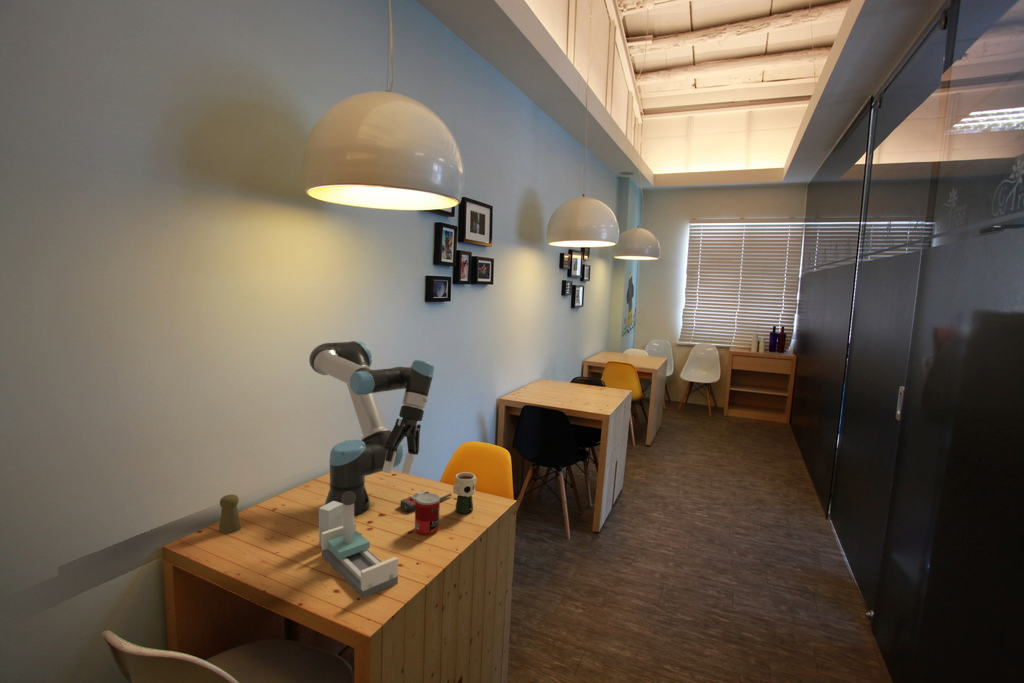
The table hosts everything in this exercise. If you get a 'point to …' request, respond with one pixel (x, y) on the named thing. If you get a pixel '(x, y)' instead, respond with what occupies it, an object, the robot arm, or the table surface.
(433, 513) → the canned food
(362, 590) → the rail track
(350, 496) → the carriage
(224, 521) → the olive pawn figure
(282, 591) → the table surface
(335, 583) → the table surface
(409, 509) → the walkie-talkie
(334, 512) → the skincare box
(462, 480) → the character mug
